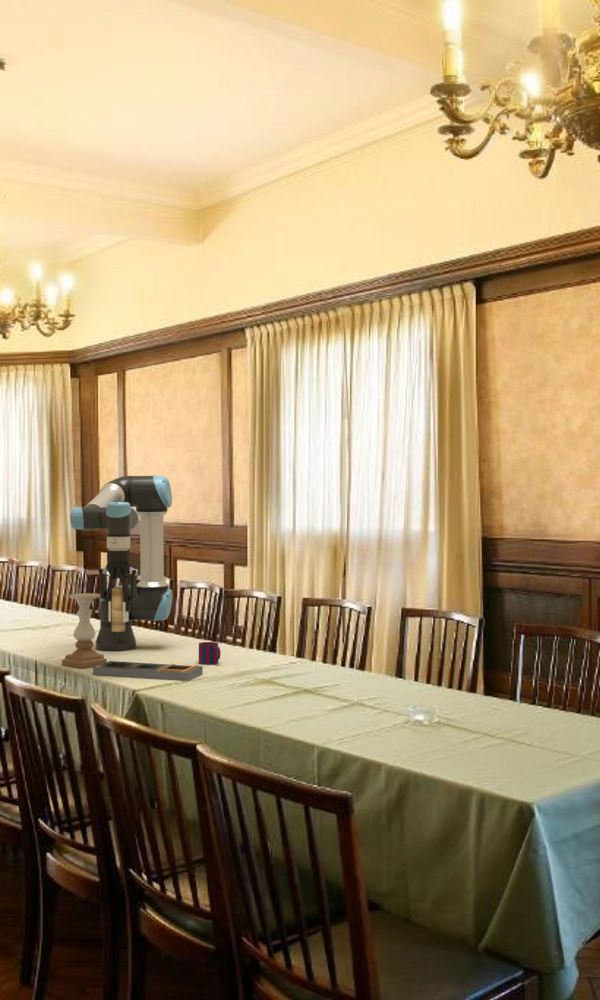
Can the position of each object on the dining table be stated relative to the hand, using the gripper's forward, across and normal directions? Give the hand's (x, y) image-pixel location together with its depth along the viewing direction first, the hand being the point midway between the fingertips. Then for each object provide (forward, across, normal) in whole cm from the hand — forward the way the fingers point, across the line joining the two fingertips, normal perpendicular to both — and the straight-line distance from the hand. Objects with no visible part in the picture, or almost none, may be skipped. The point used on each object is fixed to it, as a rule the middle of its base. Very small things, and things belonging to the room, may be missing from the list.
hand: (118, 621), depth 328 cm
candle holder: (+17, -17, +10) cm, 26 cm away
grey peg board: (+17, +11, 0) cm, 20 cm away
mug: (+17, +23, +25) cm, 38 cm away
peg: (+3, 0, 0) cm, 3 cm away
